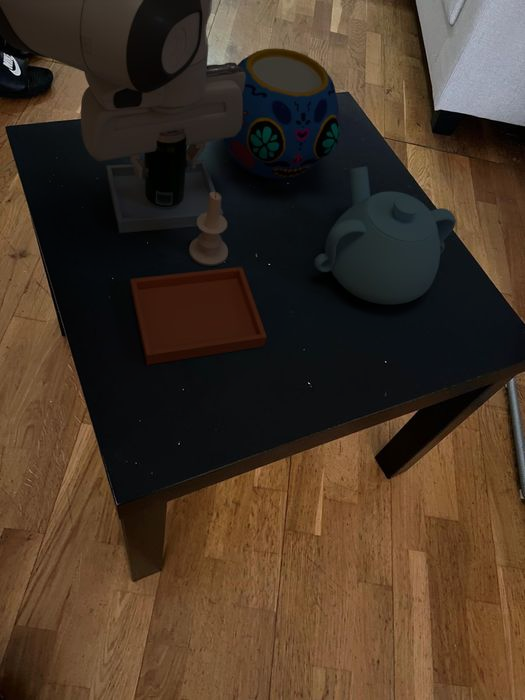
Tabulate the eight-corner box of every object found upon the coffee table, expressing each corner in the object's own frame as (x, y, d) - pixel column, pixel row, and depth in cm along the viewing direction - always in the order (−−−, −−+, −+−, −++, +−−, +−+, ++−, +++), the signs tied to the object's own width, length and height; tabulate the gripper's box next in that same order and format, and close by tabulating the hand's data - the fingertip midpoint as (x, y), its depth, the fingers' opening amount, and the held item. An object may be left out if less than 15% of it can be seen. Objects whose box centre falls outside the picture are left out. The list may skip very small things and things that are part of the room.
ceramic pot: (232, 206, 78) (246, 113, 66) (201, 130, 87) (208, 35, 75) (339, 196, 84) (371, 107, 71) (300, 125, 92) (322, 35, 80)
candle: (220, 235, 75) (229, 174, 66) (232, 263, 72) (243, 204, 64) (184, 241, 73) (188, 179, 64) (195, 269, 71) (201, 209, 62)
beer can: (186, 210, 75) (191, 135, 66) (147, 212, 74) (146, 135, 64) (180, 184, 78) (184, 109, 68) (142, 185, 77) (141, 108, 67)
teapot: (330, 327, 69) (362, 260, 59) (278, 218, 78) (297, 144, 68) (457, 303, 75) (505, 239, 65) (394, 205, 85) (428, 135, 74)
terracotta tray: (146, 365, 61) (146, 355, 60) (130, 289, 67) (130, 278, 65) (263, 346, 66) (266, 337, 64) (239, 277, 71) (242, 266, 69)
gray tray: (119, 233, 72) (118, 221, 70) (107, 177, 77) (106, 165, 76) (221, 224, 76) (223, 213, 74) (203, 172, 81) (204, 160, 80)
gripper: (235, 47, 66) (223, 143, 78) (69, 65, 58) (82, 170, 70) (259, 75, 64) (243, 171, 75) (88, 99, 56) (99, 202, 67)
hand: (165, 171), depth 72 cm, fingers closed on beer can, 5 cm apart
